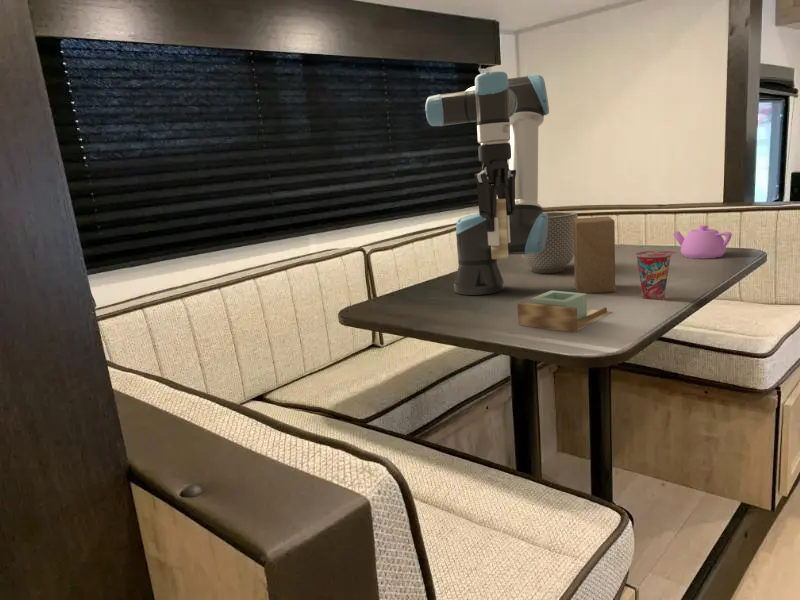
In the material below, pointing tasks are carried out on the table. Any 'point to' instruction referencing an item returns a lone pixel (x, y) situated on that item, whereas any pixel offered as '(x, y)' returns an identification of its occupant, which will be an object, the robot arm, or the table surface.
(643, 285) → the cup
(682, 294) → the table surface
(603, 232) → the wooden block
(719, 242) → the teapot
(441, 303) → the table surface
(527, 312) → the rail board
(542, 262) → the planter
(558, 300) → the pale green hollow block
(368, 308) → the table surface
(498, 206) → the dowel
